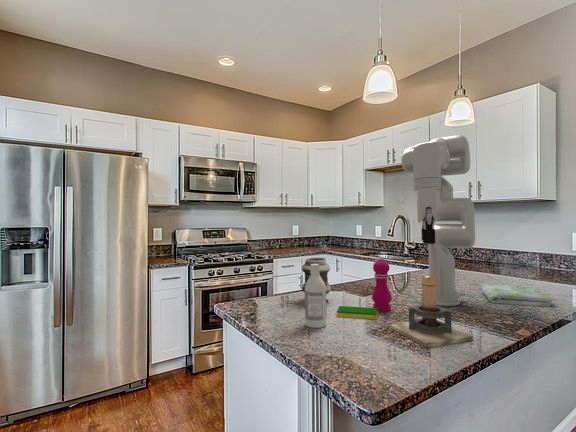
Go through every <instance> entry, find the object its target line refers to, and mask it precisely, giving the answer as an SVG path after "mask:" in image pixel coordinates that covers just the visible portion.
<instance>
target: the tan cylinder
mask: <svg viewBox="0 0 576 432" xmlns="http://www.w3.org/2000/svg"><path fill="white" fill-rule="evenodd" d="M421 305H422V311H427V312H437V306H438V305H437V301H436V276H431V275H429V274H425V275H421ZM421 319H422V325H424V326H429V327H437V320H438V318H437V319H436V318H425V317H421Z"/></svg>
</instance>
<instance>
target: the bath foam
mask: <svg viewBox="0 0 576 432" xmlns="http://www.w3.org/2000/svg"><path fill="white" fill-rule="evenodd" d="M310 269H311V276H310V277H309V279H308V281H307V282H306V285H305V293H304V317H305V319H304V320H305V322H304V323H305V326H307V327H308V328H312V329H321V328H324V327H326V326H327V303H326V299H327V294H326V287H325V284H324V282H323V280H322V278H321V277H320V275H319V264H311V265H310Z"/></svg>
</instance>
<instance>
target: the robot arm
mask: <svg viewBox="0 0 576 432" xmlns="http://www.w3.org/2000/svg"><path fill="white" fill-rule="evenodd" d="M400 160H401V167H402V169H403V171H405V172H406V173H412V174H413V191H414V192H417V193H416V194H417V195H416V199H417V200H416V208H417V209H416V211H417V214H416V215H417V219H416V220H417V222H418V224H422V225H421V241H422V244H424V245H427V250H428V272H429V273H428V275H431V276H436V301H437V306H439V307H440V306H441V307H442V306H443V307H455V306H458V305H460V304H461V300H460V299H458V298H459V297H465V296H466V293H465V292H464V291H457V290H456V260H455V257H454V255H453V254H452V253H451V252H450V251H449V249H470V248H473V247H474V245H475V243H476V218H475V217H476V215H475V205H474V202H473V200H472V199H470V197H454V187H453V185H452V184H451V183H450V182H449V181H448V179H446V178H445V177H444V176H456V175H465V174H467V173H469V171H470V168H471V152H470V145H469V142H468V139H467V137H466V136H464V135H462V134H460V135H459V134H457V135H451V136H442V137H436V138H433V139H431V140H430V141H428V142H422V143H418V144H415V145H413V146H411V147H408V148H406V149H405V150H404V151H403V153H402V155H401V159H400ZM421 221H422V223H421ZM436 222H459V223H436Z"/></svg>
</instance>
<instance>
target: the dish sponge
mask: <svg viewBox="0 0 576 432" xmlns="http://www.w3.org/2000/svg"><path fill="white" fill-rule="evenodd" d="M378 312H379V311H378V309H377V308H373V307H361V306H349V305H348V306H347V305H339V306H338V308H337V310H336V317H339V318H341V317H342V318H351V319H352V318H353V319H365V320H366V319H367V320H378V316H379V315H378Z"/></svg>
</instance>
